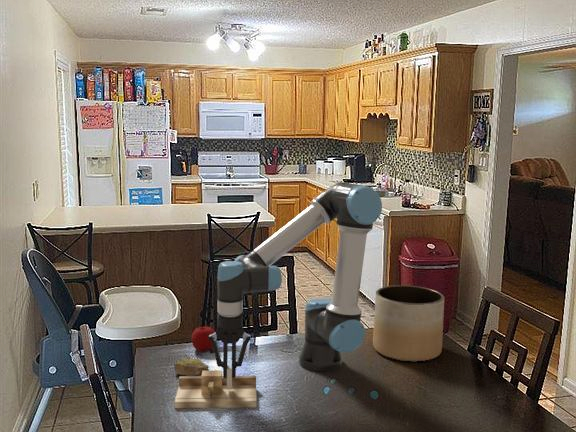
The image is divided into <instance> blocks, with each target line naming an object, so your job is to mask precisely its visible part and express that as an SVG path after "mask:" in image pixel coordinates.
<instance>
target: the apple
mask: <svg viewBox="0 0 576 432" xmlns="http://www.w3.org/2000/svg"><path fill="white" fill-rule="evenodd" d="M215 332H216V331H215V330H214V329H213V328H212V327H210V326H203V325H202V324H200V326H199V327H197V328H195V330H194V331H193V332H192V334H191V344H192V346H193V347H194V349H195V350H196V351H198V352H200V353H203V352H209V351H211V350H213V346H212V344H211V342H210V341H209V335H210V334H213V333H215Z"/></svg>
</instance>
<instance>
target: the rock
mask: <svg viewBox="0 0 576 432" xmlns="http://www.w3.org/2000/svg"><path fill="white" fill-rule="evenodd" d="M173 368H174V371H176V373H177V375H180V376H198V375H200V374H202V371H208V370H209V368H210V366H209V365H208V364H207V363H204V361H202V360H201V359H199V358H185V359H181V360H178V361H177V362H176V363H175V364H174V366H173Z"/></svg>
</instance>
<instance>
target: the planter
mask: <svg viewBox="0 0 576 432" xmlns="http://www.w3.org/2000/svg"><path fill="white" fill-rule="evenodd" d="M374 299H375V300H374V301H375V302H374V319H373V334H372V347H374V349H375V350H376V351H377V352H378V353H379V354H381V355H383V356H384V357H386V358H388V357H389V358H388V359H391V358H392V359H391V360H394V359H396V361H399V360H400V361H399V362H406V361H411V362H410V363H418V362H417V361H423V362H427V361H426V360H428V361H431V360H433V359H436V358H437V357H439V356H440V355H441V353H442V350H443V349H442V348H443V335H444V334H443V333H444V331H443V330H444V313H445V312H444V311H445V296H444V295H443V294H442V293H441V292H439V291H437V290H435V289H431V288H429V287H425V286H424V287H423V286H416V285H409V284H408V285H406V284H400V285H399V284H398V285H397V284H395V285H387V286H382V287H380V288H378V289H377V290H376V291H375V298H374ZM430 359H431V360H430Z"/></svg>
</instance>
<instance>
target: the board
mask: <svg viewBox="0 0 576 432" xmlns="http://www.w3.org/2000/svg"><path fill="white" fill-rule="evenodd" d="M201 376H202V375H199V376H198V375H193V376H187V375H180V376H179V377H178V388H177V391H176V396H175V399H174V409H215V408H216V409H219V408H222V409H223V408H225V409H226V408H227V409H228V408H229V409H231V408H237V409H238V408H257V375H236V377H235V378H232V389H227V378H224V377H223V375H222V394H221V395H212V397H210V395H201Z"/></svg>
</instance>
